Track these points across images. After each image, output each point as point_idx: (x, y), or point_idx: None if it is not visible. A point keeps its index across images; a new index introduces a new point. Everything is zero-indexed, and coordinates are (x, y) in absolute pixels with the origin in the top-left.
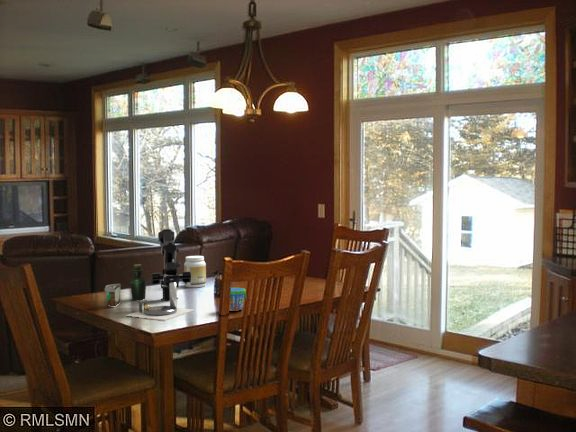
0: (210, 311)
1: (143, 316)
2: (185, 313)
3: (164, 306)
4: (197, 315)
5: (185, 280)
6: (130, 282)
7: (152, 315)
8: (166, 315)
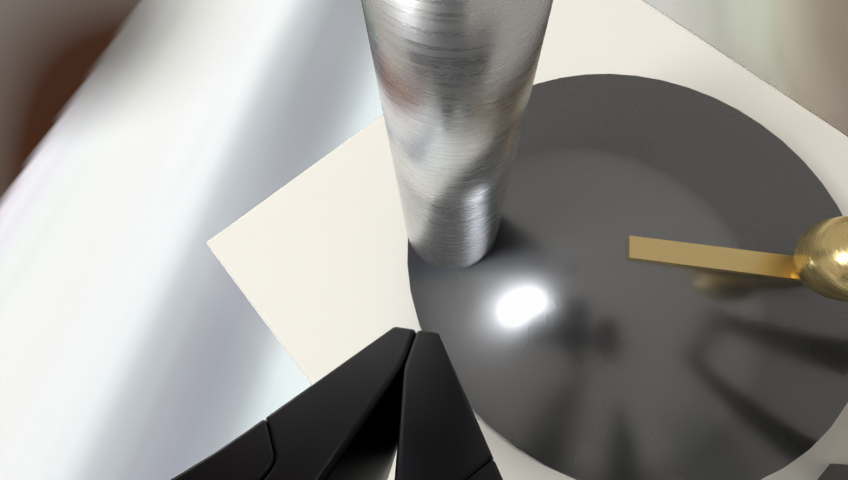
0: (81, 156)
1: (814, 138)
2: (344, 150)
3: (553, 408)
4: (267, 53)
5: None
6: None
7: None
8: None
